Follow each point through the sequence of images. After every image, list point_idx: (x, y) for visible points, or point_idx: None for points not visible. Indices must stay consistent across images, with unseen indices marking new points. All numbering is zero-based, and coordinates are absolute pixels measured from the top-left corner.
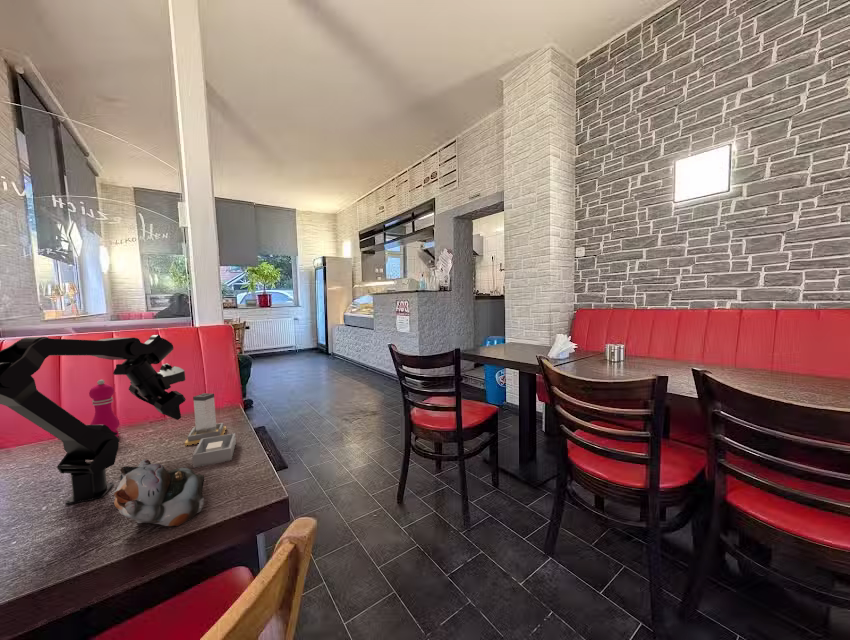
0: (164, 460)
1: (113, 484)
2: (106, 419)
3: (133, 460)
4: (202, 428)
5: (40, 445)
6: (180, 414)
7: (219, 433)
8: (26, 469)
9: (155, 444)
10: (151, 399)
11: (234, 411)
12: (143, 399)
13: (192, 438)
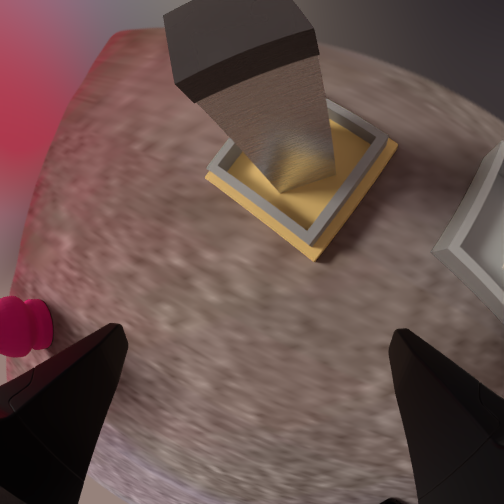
0: (381, 376)
1: (392, 499)
2: (4, 337)
3: (262, 415)
4: (312, 167)
5: (13, 377)
6: (433, 348)
7: (386, 140)
8: (96, 469)
9: (179, 304)
10: (69, 452)
11: (151, 34)
12: (72, 502)
13: (323, 229)
